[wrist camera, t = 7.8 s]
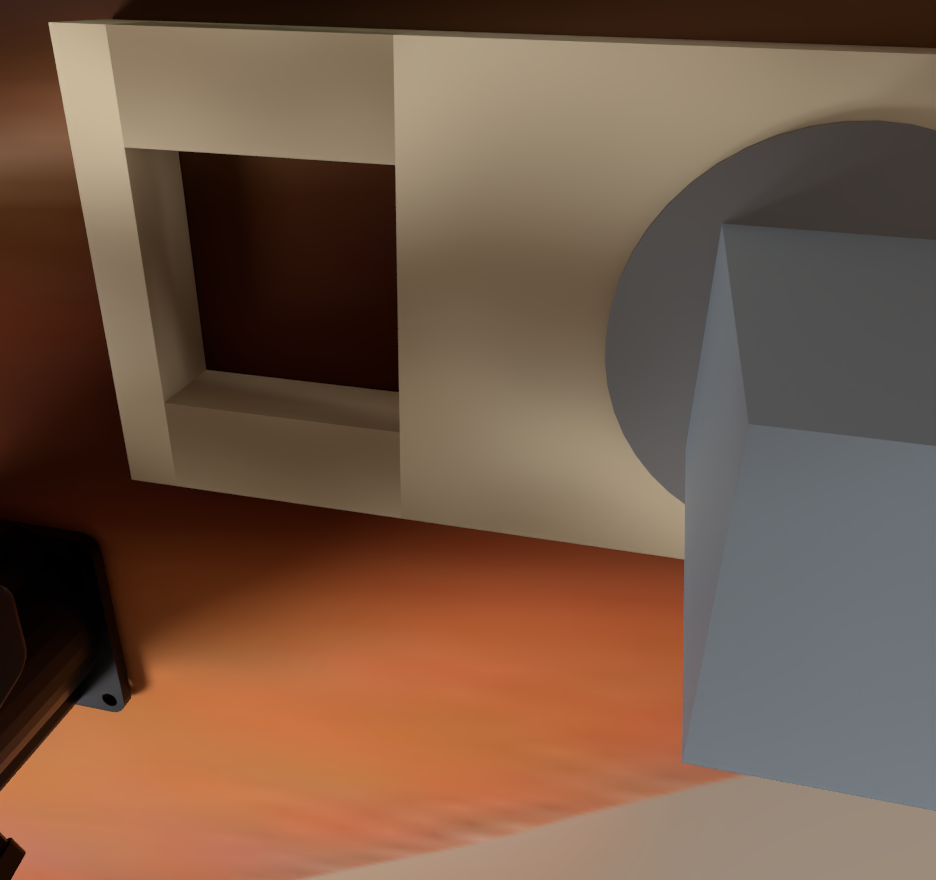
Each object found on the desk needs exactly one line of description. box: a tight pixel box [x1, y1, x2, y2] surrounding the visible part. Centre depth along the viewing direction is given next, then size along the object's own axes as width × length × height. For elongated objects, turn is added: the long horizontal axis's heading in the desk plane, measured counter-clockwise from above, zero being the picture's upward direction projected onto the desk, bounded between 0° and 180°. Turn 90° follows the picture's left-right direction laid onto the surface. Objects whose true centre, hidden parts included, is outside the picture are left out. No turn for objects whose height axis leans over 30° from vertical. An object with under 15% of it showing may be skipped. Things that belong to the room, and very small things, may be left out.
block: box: [682, 224, 936, 811], centre depth 12 cm, size 4×4×8 cm
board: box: [48, 19, 936, 559], centre depth 18 cm, size 10×19×2 cm, turn 90°
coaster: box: [605, 120, 936, 504], centre depth 16 cm, size 8×8×1 cm
